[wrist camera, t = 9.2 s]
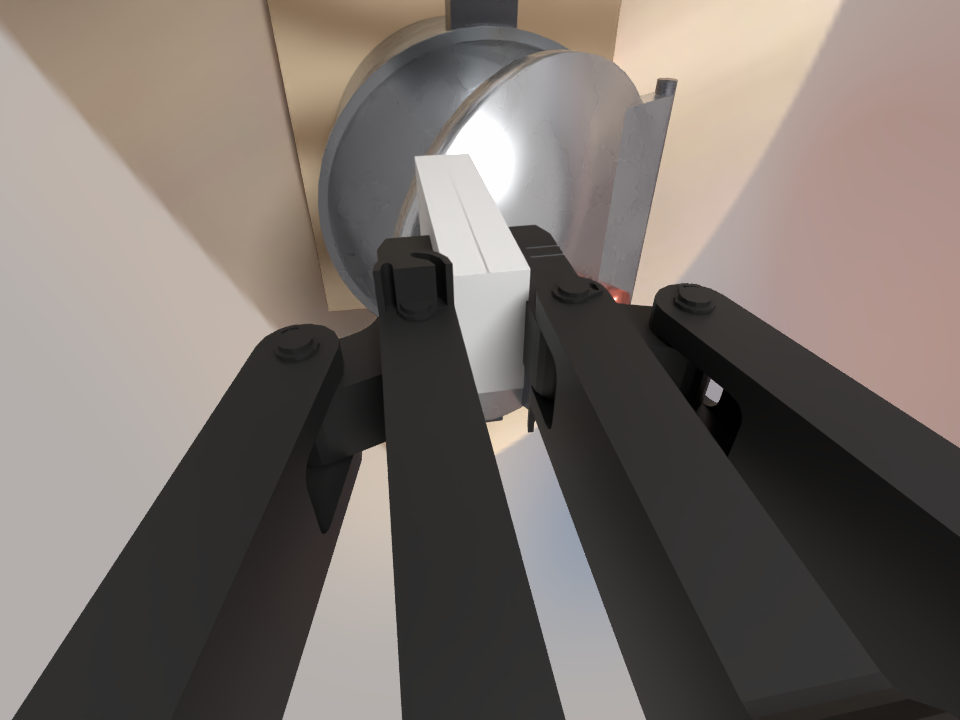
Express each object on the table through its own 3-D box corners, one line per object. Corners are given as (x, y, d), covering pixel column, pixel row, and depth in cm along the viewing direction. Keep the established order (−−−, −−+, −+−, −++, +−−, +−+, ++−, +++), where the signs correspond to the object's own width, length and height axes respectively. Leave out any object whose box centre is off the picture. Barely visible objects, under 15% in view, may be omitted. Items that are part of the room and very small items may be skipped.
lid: (354, 80, 13) (423, 98, 11) (673, 29, 21) (736, 36, 20) (403, 471, 22) (445, 510, 20) (615, 327, 30) (655, 346, 29)
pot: (290, -64, 24) (265, -68, 17) (616, -61, 27) (709, -63, 20) (360, 354, 39) (361, 443, 32) (565, 333, 41) (608, 412, 34)
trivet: (256, -62, 25) (254, -62, 24) (624, -58, 27) (629, -58, 27) (329, 307, 37) (329, 311, 36) (578, 284, 40) (580, 288, 39)
